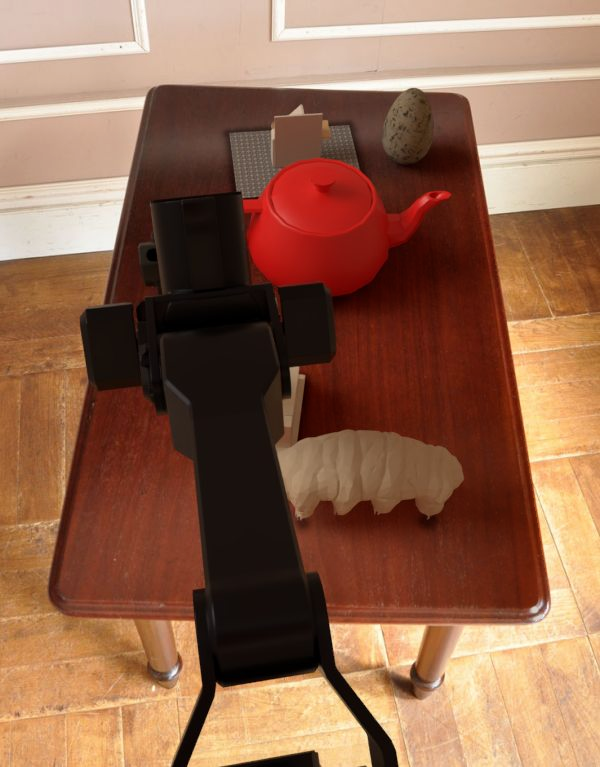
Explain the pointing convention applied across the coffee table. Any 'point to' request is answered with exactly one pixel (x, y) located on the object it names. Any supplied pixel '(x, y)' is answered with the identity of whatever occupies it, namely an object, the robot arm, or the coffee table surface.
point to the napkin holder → (287, 148)
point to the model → (367, 472)
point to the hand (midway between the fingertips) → (207, 321)
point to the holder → (292, 411)
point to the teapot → (327, 226)
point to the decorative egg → (408, 128)
